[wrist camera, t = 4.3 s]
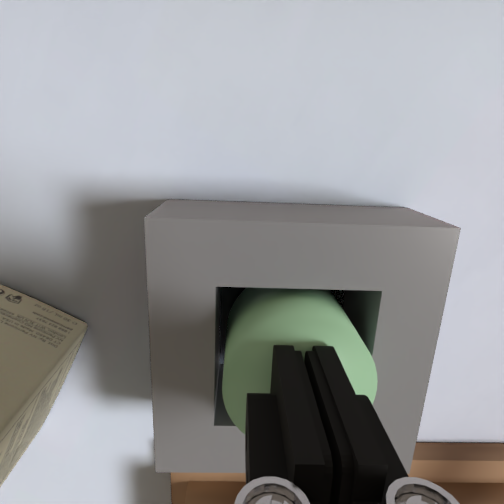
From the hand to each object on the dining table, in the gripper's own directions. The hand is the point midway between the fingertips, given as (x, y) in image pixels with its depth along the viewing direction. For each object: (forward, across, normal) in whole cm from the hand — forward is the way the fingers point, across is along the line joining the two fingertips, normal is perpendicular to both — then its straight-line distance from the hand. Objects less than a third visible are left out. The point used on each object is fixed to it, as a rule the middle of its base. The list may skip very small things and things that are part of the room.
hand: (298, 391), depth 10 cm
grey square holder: (+5, 0, 0) cm, 5 cm away
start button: (+3, 0, 0) cm, 4 cm away
